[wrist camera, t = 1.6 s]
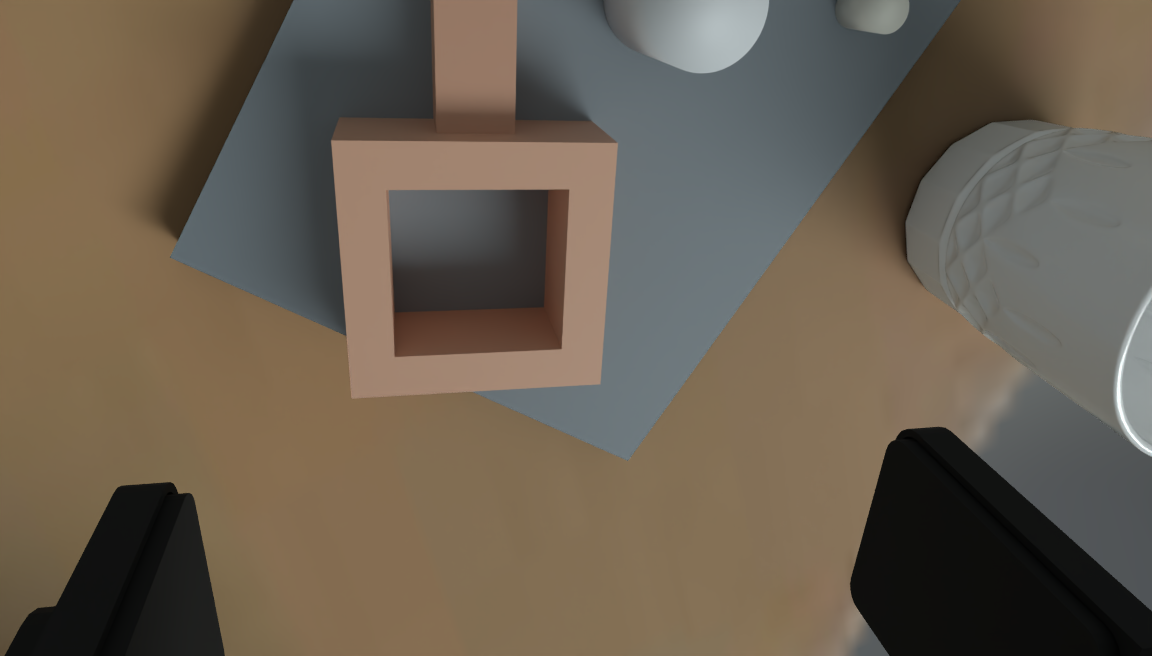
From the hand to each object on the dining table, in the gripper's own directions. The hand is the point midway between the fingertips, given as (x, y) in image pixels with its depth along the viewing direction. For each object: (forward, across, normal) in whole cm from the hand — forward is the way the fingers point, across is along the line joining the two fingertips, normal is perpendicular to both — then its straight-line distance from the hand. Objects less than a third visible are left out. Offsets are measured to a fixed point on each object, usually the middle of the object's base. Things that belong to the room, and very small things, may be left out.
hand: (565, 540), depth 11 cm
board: (+16, -3, -3) cm, 16 cm away
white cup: (+16, -18, +1) cm, 24 cm away
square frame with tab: (+14, 0, -1) cm, 14 cm away
